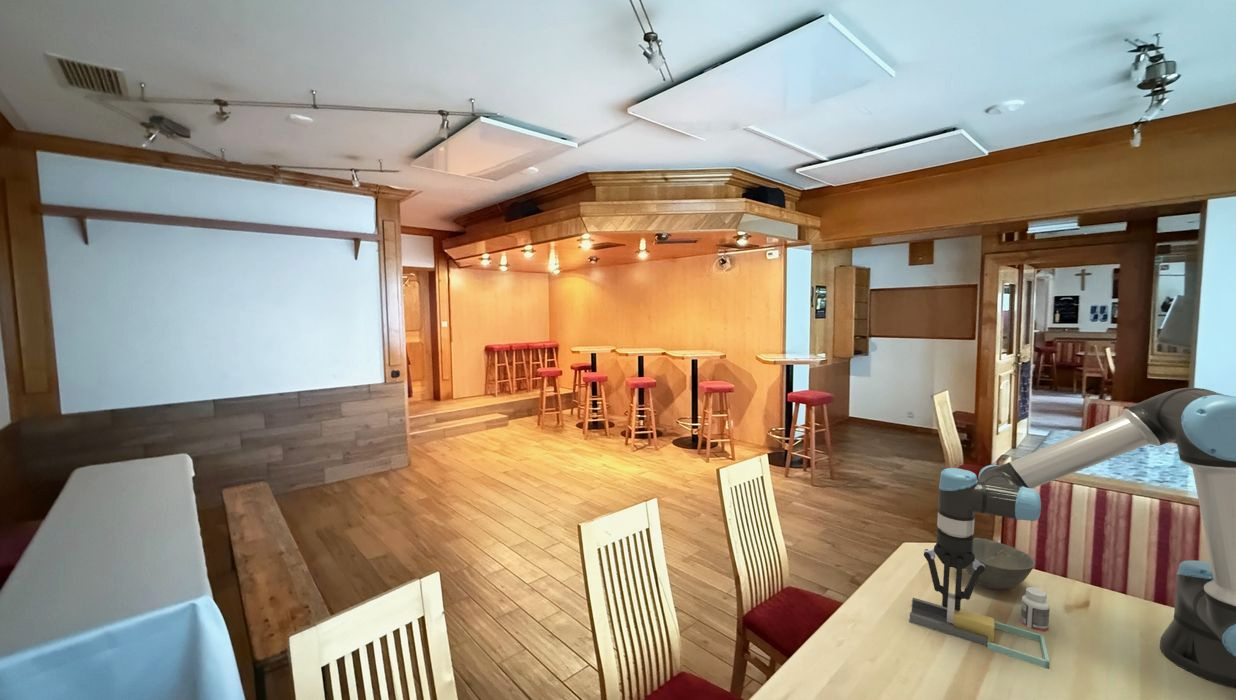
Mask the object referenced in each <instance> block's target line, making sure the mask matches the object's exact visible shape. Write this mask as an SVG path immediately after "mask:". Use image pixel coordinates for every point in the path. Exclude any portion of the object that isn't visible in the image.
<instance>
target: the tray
mask: <svg viewBox="0 0 1236 700" xmlns="http://www.w3.org/2000/svg"><path fill="white" fill-rule="evenodd" d="M994 629H997V630H999V631H1003V632H1005V633H1009V634H1011V635H1016V636H1019V637H1023V638H1025V639H1030V640H1033V641H1037V642H1039V644H1040V647H1041V648H1040V649H1041V652H1042V654H1041V655H1042V658H1041V657H1038V656H1035V655H1032V654H1028V653H1025V652H1022V651H1019V650H1015V649H1013V648H1010V647H1007V646H1003V645H1000V644H996V643H993V642H990V641H988V643H987V648H986V649H987V650H989V651H991V652H995V653H998V654H1002V655H1004V656H1008V657H1010V658H1013V659H1017V660H1020V661H1023V662H1026V663H1029V664H1033V665H1035V666H1039V667H1041V668H1045V669H1048V670H1049V669H1050V665H1051V664H1050V658H1049V655H1048V650H1047V646H1046V642H1045V641H1046V640H1045V637H1044V635H1043V634H1041V633H1037V632H1033V631H1030V630H1027V629H1023V628H1019V627H1016V626H1013V625H1010V624H1006V623H1002V622H999V621H996V620H994Z"/></svg>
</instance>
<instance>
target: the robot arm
mask: <svg viewBox="0 0 1236 700" xmlns="http://www.w3.org/2000/svg"><path fill="white" fill-rule="evenodd" d="M1171 442H1176V446H1177V450H1178V455H1179V456H1178V457H1179V461H1180V462H1182V463H1183V464H1185V465H1187V466H1188V467H1190V468H1191V469H1192V473H1193V478H1194V483H1195V488H1196V493H1197V494H1196V495H1197V498H1198V500H1197V501H1198V504H1199V510H1200V515H1201V521H1202V527H1203V531H1204V537H1205V543H1206V547H1207V552H1208V558H1209V562H1208V561H1203V560H1193V559H1191V560H1184V561H1181V562H1180V563H1179V565H1178V569H1177V572H1176V575H1177V577H1176V587H1175V600H1174V601H1175V602H1174V613H1173V618H1172V619H1173V620H1172V621H1171V622H1170V623H1169V625H1168V626H1167V628H1166V629H1165V630H1164V632H1163V633H1162V634H1161V636H1160V639H1159V650H1160V651H1161V653H1162V654H1163V655H1164V656H1165V657H1166V658H1167V659H1169V660H1170V661H1171V662H1172V663H1174V664H1175V665H1177V666H1179V667H1180V668H1182V669H1184V670H1185V671H1187V672H1190V673H1192V674H1193V675H1196V676H1199V677H1200V678H1203V679H1206V680H1208V681H1211V682H1214V683H1217V684H1219V685H1224V686H1227V687H1230V688H1235V689H1236V396H1233V395H1229V394H1223V393H1220V392H1219V393H1218V392H1216V391H1213V390H1209V389H1207V388H1206V389H1205V388H1199V387H1184V388H1177V389H1173V390H1169V391H1165V392H1163V393H1160V394H1157V395H1155V396H1151V397H1150V398H1148V399H1145V400H1143V401H1140V402H1138V403H1136V404H1134V405H1131V406H1128V407H1126V408H1123V409H1122V413H1121V415H1120V416H1117V417H1115V418H1113V419H1111V420H1107V421H1105V422H1103V423H1100V424H1098V425H1096V426H1093V427H1091V428H1088V429H1085V430H1084V431H1081V432H1079V433H1076V434H1074V435H1072V436H1069V437H1067V438H1064V439H1062V440H1059V441H1057V442H1055V443H1052V444H1050V445H1048V446H1045V447H1043V448H1041V449H1038V450H1035V451H1032V452H1031V453H1028V454H1025V455H1024V456H1023V455H1022V457H1019V458H1017V459H1013V460H1012V461H1009V462H1006V463H1003V464H1001V465H998V464H989V465H986V466H984V467H982V468H981V469H980V471H979V473H978V475H977V474H976V473H975V472H973V471H970V470H967V469H962V468H958V467H956V468H955V467H949V468H945V469H943V470H941V472H940V477H939V485H938V503H937V505H938V507H937V508H938V509H937V510H938V511H937V521H936V522H937V523H936V525H937V529H936V541H935V542H936V543H935V544H934V546H933V548H931V549H927V548H926V549H924V551H923V557H924V558H925V561H927V564H928V568H929V572H930V576H931V580H932V585H933V589H934V591H935V592H937V593H938V592H939V593H940V594H941V596H942V597H941V598H942V599H941V601H942V602H941V606H943V607H946V608H947V622H949V623H952V624H954V610H956V611H960V609H961V602H962V601H961V600H964V599H965V600H966V601H969V600H970V599H971V596H972V594H973V591H974V589H975V587H976V584H977V583H978V582H977V580H978V577H979V575H980V574H981V573H982V572H984V571H985V564H984V563H983V562H979V561H978V560H976V559H975V556H974V554H973V538H974V534H975V519H976V517H975V516H976V515H975V513H979V514H985V515H992V516H997V517H1003V518H1009V519H1014V520H1018V521H1029V522H1030V521H1031V522H1035V521H1037V520H1039V518H1040V516H1041V511H1042V501H1041V495H1040V493H1039V491H1038V490H1037V489H1034V488H1037V487H1040V486H1042V485H1045V484H1047V483H1048V484H1049V483H1050V482H1053V481H1056V480H1058V479H1061V478H1064V477H1066V476H1069V475H1071V474H1075V473H1077V472H1079V471H1082V470H1084V469H1087V468H1089V467H1093V466H1096V465H1098V464H1101V463H1103V462H1105V461H1108V460H1111V459H1113V458H1116V457H1119V456H1122V455H1125V454H1127V453H1130V452H1132V451H1136V450H1138V449H1140V448H1143V447H1145V446H1148V445H1149V446H1156V447H1160V446H1163V445H1165V444H1168V443H1171ZM977 476H978V477H977ZM936 557H938V559H939V561H940V562H941V563H942V565H943V582H942V584H941V582H940V578H939V574H938V569H937V566H936V561H935V559H936ZM971 563H973V570H972V573H971V575H969V577H968V581H967V583H966V585H965V588H964V590H962V585H963V584H962V583H963V570H964V569H965V568H966V567H967V566H969V565H970V564H971ZM951 568H953V569H954V570H955V569H956V570H955V589H954V593H953V592H952V593H951V592H949V591H950V590H949V589H950V572H951Z"/></svg>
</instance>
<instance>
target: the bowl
mask: <svg viewBox="0 0 1236 700" xmlns="http://www.w3.org/2000/svg"><path fill="white" fill-rule="evenodd" d="M973 554H974V556H975V559H976V560H978V561H979V562H983V563H984V564H985V571H984V572H982V573H981V574H980V575H979V577H978V580H977V582H976V583H978V584H980V585H981V586H984V587H985V588H987V589H990V590H993V591H1005V590H1010V589H1013V588H1015V587H1017V586H1019V585H1020V584H1022V583H1023V582H1024V581H1025V580H1026V579H1027V577H1028V576H1029V574H1030V573H1031V572H1032V570H1033V569H1034V568H1035V566H1036V560H1034V558H1033V557H1032V556H1031V555H1029V554H1028V553H1026V551H1025V552H1024V551H1022V550H1020V549H1018V548H1015V547H1013V546H1011V545H1007V544H1004V543H1002V542H998V541H995V540H992V539H987V538H981V537H973ZM972 570H973V563H971V564H970V565H969V566H967V567H966V568H965V571H966V572H967V574H968V575H969V576H970V575H971V573H972Z"/></svg>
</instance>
